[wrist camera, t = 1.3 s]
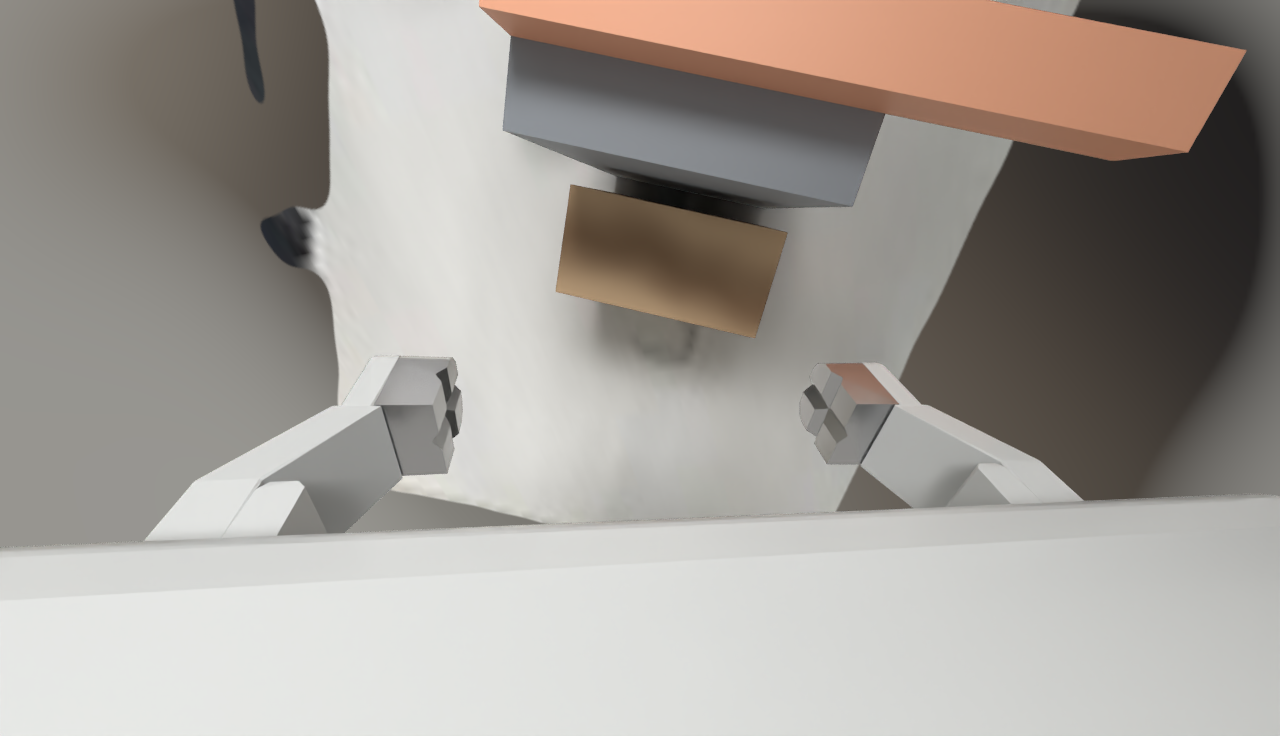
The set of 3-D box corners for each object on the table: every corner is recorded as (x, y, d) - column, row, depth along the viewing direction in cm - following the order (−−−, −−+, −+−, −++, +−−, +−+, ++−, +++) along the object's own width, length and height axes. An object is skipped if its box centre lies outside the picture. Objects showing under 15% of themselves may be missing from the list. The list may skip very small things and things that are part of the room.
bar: (518, -51, 16) (485, -98, 14) (1157, 76, 15) (1246, 50, 12) (510, 35, 17) (479, 6, 14) (1112, 160, 16) (1187, 152, 13)
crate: (612, 192, 43) (570, 184, 29) (758, 225, 42) (787, 232, 28) (600, 266, 45) (555, 291, 31) (737, 297, 45) (754, 338, 31)
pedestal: (635, 65, 39) (529, -172, 15) (794, 98, 39) (957, -92, 14) (615, 175, 42) (502, 130, 18) (763, 208, 42) (852, 206, 17)
